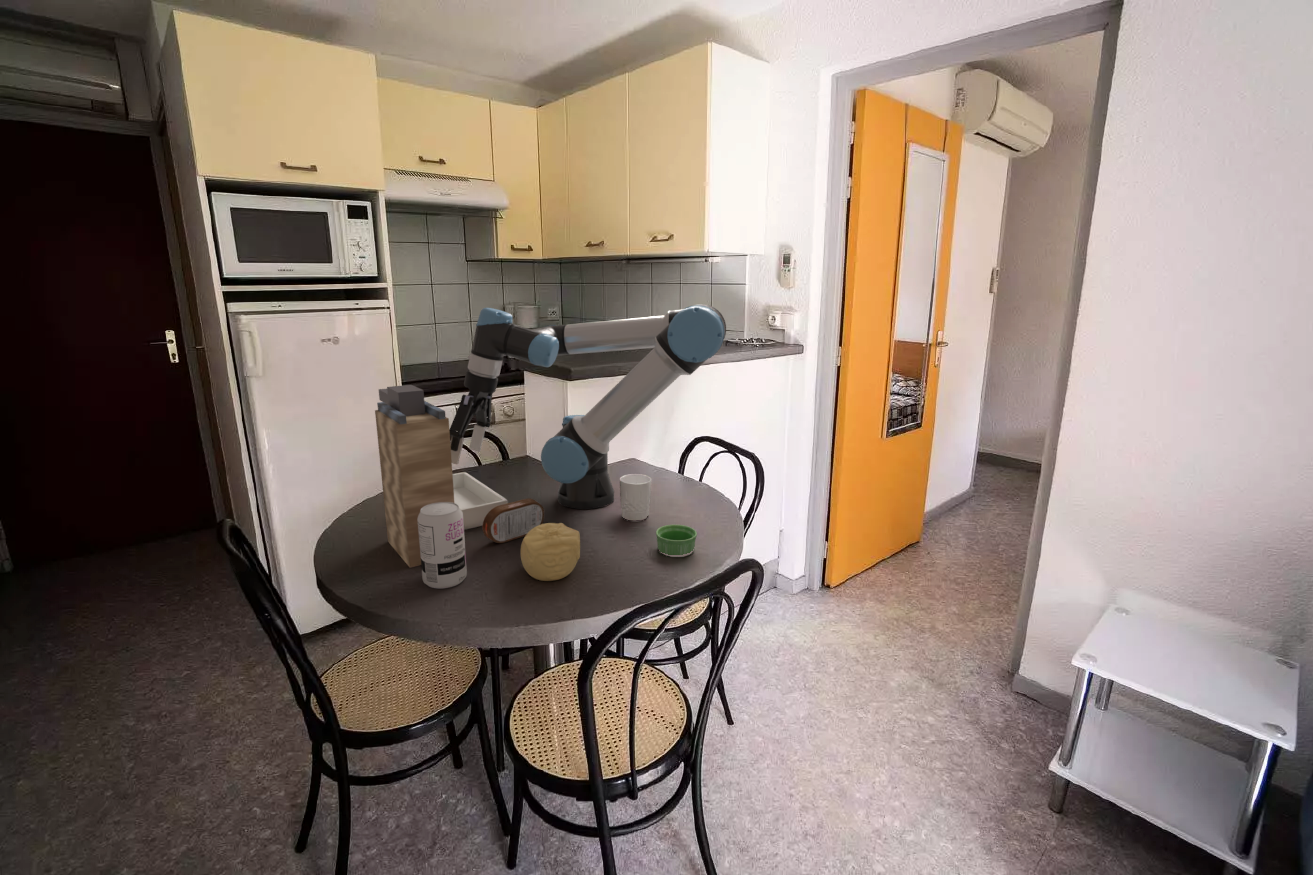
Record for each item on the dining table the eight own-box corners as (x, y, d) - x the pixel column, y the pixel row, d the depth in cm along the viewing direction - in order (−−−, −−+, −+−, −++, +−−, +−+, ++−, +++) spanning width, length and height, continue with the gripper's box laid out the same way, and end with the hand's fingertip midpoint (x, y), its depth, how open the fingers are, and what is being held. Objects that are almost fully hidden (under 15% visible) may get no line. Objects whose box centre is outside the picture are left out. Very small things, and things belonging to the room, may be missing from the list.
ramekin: (649, 545, 138) (649, 527, 137) (685, 539, 142) (685, 522, 140) (665, 562, 130) (666, 543, 129) (703, 555, 134) (704, 537, 133)
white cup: (652, 511, 158) (653, 474, 155) (649, 523, 150) (649, 484, 148) (622, 510, 159) (622, 473, 156) (617, 521, 151) (617, 483, 149)
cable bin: (416, 498, 164) (415, 480, 163) (466, 488, 172) (465, 471, 171) (454, 532, 143) (452, 512, 142) (508, 519, 151) (507, 500, 150)
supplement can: (429, 571, 124) (423, 501, 121) (471, 570, 125) (466, 500, 121) (417, 590, 116) (411, 516, 113) (462, 589, 117) (457, 516, 113)
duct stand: (388, 541, 138) (374, 402, 130) (433, 531, 144) (422, 398, 136) (410, 567, 125) (396, 416, 118) (458, 555, 131) (448, 410, 124)
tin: (539, 526, 147) (538, 493, 145) (547, 530, 145) (546, 497, 143) (482, 544, 137) (480, 509, 135) (489, 549, 135) (487, 513, 133)
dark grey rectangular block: (373, 400, 140) (371, 378, 139) (396, 398, 143) (394, 377, 142) (400, 417, 124) (398, 392, 123) (425, 414, 127) (423, 390, 126)
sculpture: (528, 592, 117) (526, 539, 114) (516, 565, 127) (514, 517, 125) (586, 581, 121) (586, 530, 118) (570, 556, 132) (569, 509, 129)
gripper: (487, 364, 159) (469, 441, 164) (445, 373, 135) (426, 463, 139) (514, 373, 159) (496, 449, 163) (477, 383, 135) (457, 473, 139)
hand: (463, 456), depth 151 cm, fingers open, 13 cm apart
